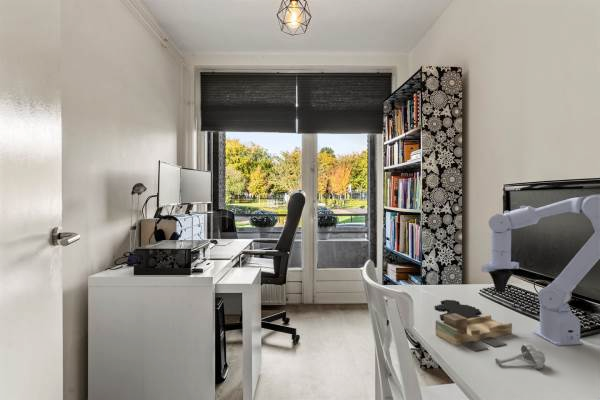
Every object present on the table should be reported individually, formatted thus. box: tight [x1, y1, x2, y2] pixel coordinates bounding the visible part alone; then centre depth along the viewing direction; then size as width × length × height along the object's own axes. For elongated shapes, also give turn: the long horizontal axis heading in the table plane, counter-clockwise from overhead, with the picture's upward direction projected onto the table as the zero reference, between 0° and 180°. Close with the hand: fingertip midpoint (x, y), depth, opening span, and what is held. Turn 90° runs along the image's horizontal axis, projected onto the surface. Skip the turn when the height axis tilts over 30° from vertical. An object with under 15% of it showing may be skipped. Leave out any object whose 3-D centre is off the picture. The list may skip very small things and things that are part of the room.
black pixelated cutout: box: [434, 299, 482, 321], centre depth 122 cm, size 16×1×30 cm
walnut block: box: [443, 313, 467, 334], centre depth 104 cm, size 4×4×4 cm
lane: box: [435, 314, 513, 353], centre depth 104 cm, size 22×13×4 cm, turn 110°
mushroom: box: [494, 343, 546, 370], centre depth 88 cm, size 7×5×12 cm
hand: (499, 291), depth 114 cm, fingers closed
